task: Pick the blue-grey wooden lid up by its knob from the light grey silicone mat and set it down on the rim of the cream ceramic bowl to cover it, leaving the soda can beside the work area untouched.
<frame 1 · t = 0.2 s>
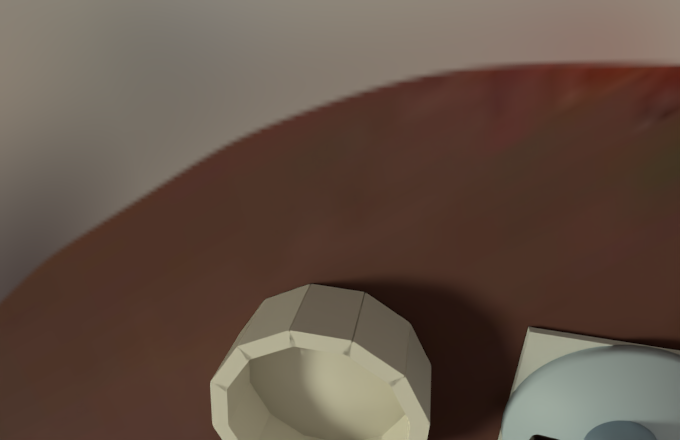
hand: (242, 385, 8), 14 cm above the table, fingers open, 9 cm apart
bowl: (331, 369, 26), on the table
lid: (614, 433, 24), resting on mat
mat: (611, 427, 24), on the table
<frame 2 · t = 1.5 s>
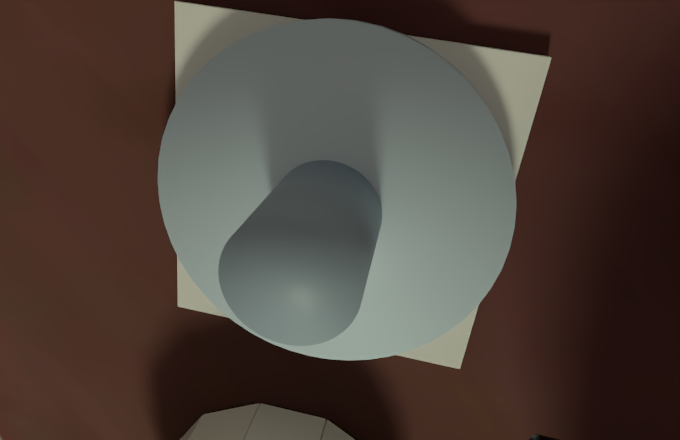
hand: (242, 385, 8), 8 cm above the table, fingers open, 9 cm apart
lid: (331, 203, 15), resting on mat
mat: (334, 199, 15), on the table
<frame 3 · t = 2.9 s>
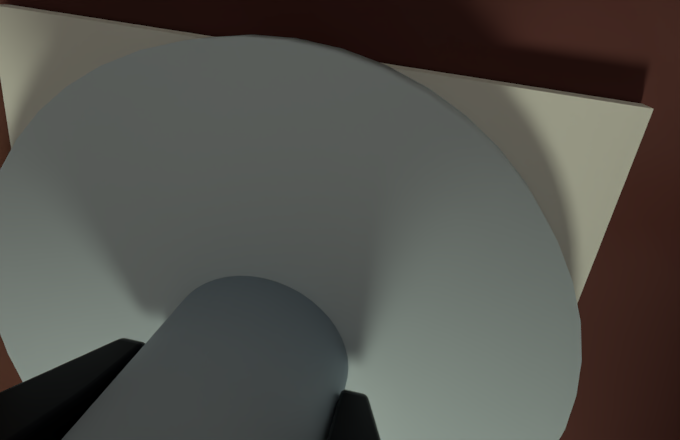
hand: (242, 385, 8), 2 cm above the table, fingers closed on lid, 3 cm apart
lid: (271, 329, 9), resting on mat, touching gripper
mat: (277, 317, 10), on the table
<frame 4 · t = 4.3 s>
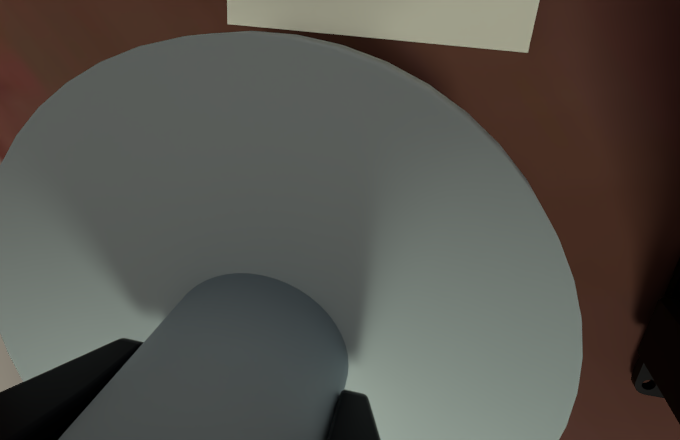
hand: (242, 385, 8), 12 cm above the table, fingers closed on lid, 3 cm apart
lid: (271, 327, 9), point 10 cm above the table, touching gripper
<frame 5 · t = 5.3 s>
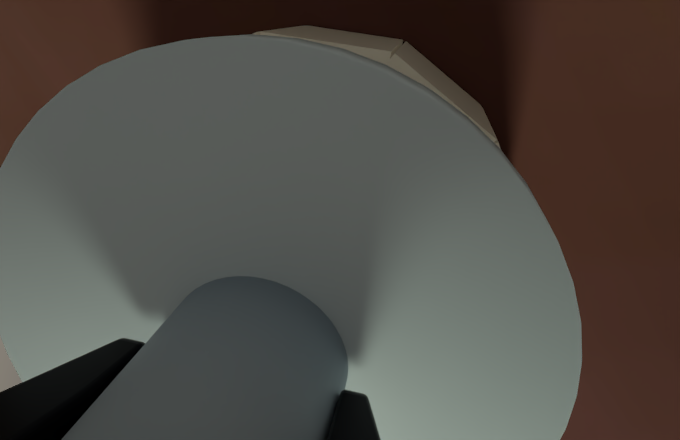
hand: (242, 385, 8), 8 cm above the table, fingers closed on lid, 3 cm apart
bowl: (331, 206, 15), on the table
lid: (271, 330, 9), point 6 cm above the table, touching gripper
when the fingers open (6 cm above the table, at t = 5.8 s): lid drops 1 cm, resting on bowl.
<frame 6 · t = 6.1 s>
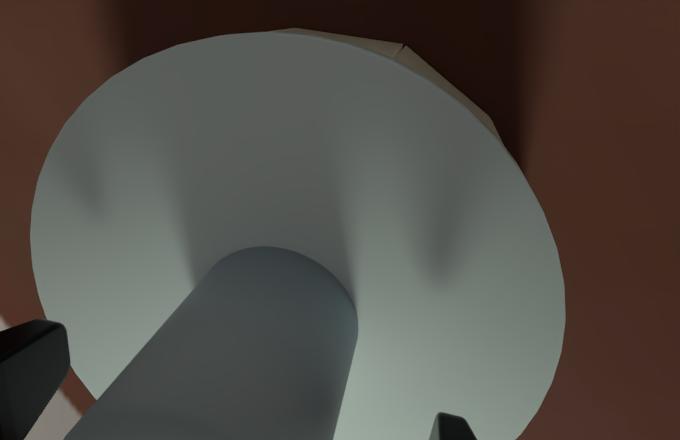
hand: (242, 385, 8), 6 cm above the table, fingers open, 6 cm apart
bowl: (324, 225, 14), on the table
lid: (287, 298, 10), point 4 cm above the table, touching bowl
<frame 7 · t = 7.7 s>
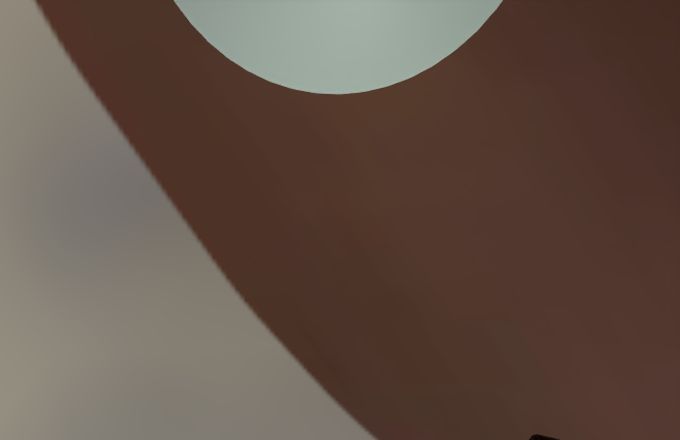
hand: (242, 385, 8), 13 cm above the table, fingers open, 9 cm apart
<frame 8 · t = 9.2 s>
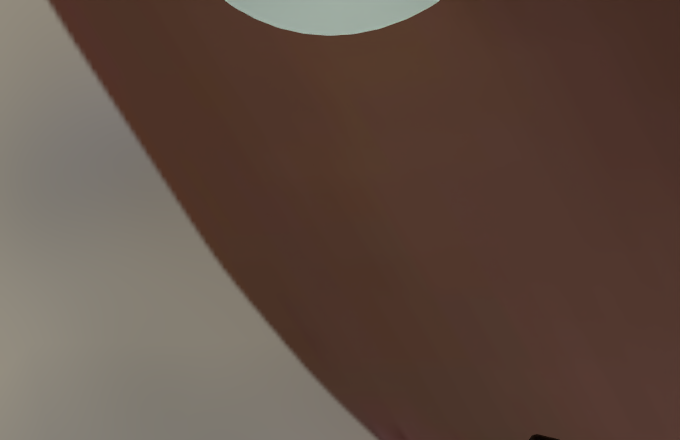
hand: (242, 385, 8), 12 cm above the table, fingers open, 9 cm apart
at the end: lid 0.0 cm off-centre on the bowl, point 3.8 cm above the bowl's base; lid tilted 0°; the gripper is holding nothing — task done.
